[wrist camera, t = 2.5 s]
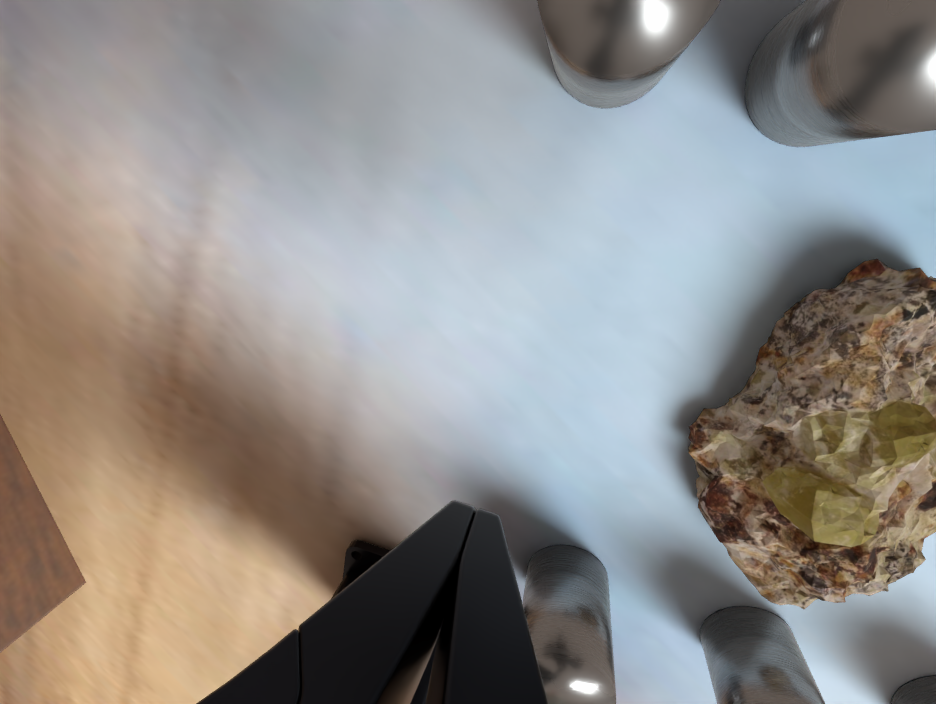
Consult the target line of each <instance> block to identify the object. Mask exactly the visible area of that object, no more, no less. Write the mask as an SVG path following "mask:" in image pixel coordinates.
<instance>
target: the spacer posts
mask: <svg viewBox="0 0 936 704" xmlns="http://www.w3.org/2000/svg"><path fill="white" fill-rule="evenodd" d="M537 1H538V7H539V11H540V15H541V19H542V23H543V27H544V31H545V35H546V38H547V42H548V46H549V50H550V54H551V58H552V62H553V66H554V69H555V72H556V75H557V77H558V79H559V81H560V83H561V84H562V86H563V87H564V88H565V90H566V91H567V92H568V93H569V94H570V95H571V96H572V97H573V98H575V99H576V100H578V101H579V102H581V103H583V104H586V105H588V106H592V107H596V108H615V107H620V106H623V105H627V104H629V103H631V102H633V101H635V100H637V99H639V98H640V97H642V96H644V95H645V94H646V93H647V92H649V91H650V90H651V89H652V88H653V87H654V86H655V85H656V84H657V83H658V82H659V81H660V80H661V78H662V77H663V76H664V75H665V74H666V72H667V71H668V70H669V69H670V67H671V66H672V65H673V64H674V62H675V61H676V60H677V59H678V58H679V56H680V55H681V54H682V53H683V51H684V50H685V49H686V48H687V47H688V45H689V44H690V43H691V42H692V40H693V39H694V38H695V37H696V36H697V34H698V33H699V32H700V31H701V29H702V28H703V27H704V26H705V24H706V23H707V22H708V20H709V19H710V17H711V16H712V15H713V13H714V12H715V10H716V9H717V7H718V5H719V3H720V1H721V0H537ZM745 99H746V105H747V110H748V112H749V115H750V118H751V119H752V121H753V123H754V125H755V126H756V127H757V128H758V130H759V131H760V132H761V133H762V134H764V135H765V136H766V137H768V138H769V139H771V140H772V141H775V142H777V143H779V144H783V145H786V146H793V147H809V146H817V145H824V144H832V143H839V142H847V141H855V140H862V139H870V138H878V137H885V136H893V135H900V134H908V133H916V132H923V131H931V130H936V0H806V1H805V2H804V3H802V4H801V5H800V6H799V7H797V8H796V9H795V10H793V11H792V12H791V13H790V14H788V15H787V16H786V17H784V18H783V19H782V20H781V21H780V22H779V23H778V24H777V25H776V26H775V27H774V28H773V29H772V30H771V31H770V32H769V33H768V34H767V36H766V37H765V39H764V40H763V41H762V43H761V44H760V46H759V48H758V49H757V51H756V53H755V55H754V57H753V59H752V61H751V64H750V67H749V70H748V74H747V79H746V86H745ZM523 608H524V612H525V616H526V619H527V623H528V627H529V631H530V635H531V639H532V643H533V646H534V650H535V654H536V658H537V662H538V666H539V670H540V673H541V677H542V681H543V685H544V689H545V693H546V697H547V700H548V704H616V691H615V675H614V660H613V645H612V630H611V615H610V599H609V584H608V575H607V572H606V570H605V568H604V566H603V565H602V563H601V562H600V561H599V560H598V559H597V558H596V557H595V556H593V555H592V554H590V553H589V552H587V551H585V550H583V549H580V548H577V547H573V546H568V545H555V546H550V547H546V548H544V549H542V550H540V551H538V552H537V553H535V554H534V556H533V557H532V558H531V559H530V561H529V564H528V569H527V576H526V583H525V590H524V598H523ZM700 638H701V642H702V646H703V650H704V654H705V658H706V662H707V666H708V669H709V673H710V677H711V681H712V685H713V689H714V693H715V697H716V701H717V704H825V702H824V700H823V698H822V696H821V693H820V691H819V689H818V687H817V685H816V683H815V680H814V678H813V676H812V674H811V672H810V670H809V667H808V665H807V663H806V661H805V659H804V657H803V654H802V652H801V650H800V648H799V646H798V644H797V641H796V639H795V637H794V635H793V633H792V631H791V629H790V627H789V626H788V625H787V623H786V622H785V621H783V620H782V619H781V618H780V617H778V616H776V615H775V614H773V613H771V612H768V611H766V610H762V609H759V608H753V607H732V608H727V609H723V610H720V611H718V612H716V613H714V614H712V615H711V616H709V617H708V618H707V619H706V620H705V622H704V623H703V625H702V627H701V630H700ZM891 704H936V676H929V677H923V678H920V679H916V680H913V681H911V682H909V683H907V684H905V685H904V686H902V687H901V688H900V689H898V690H897V692H896V693H895V694H894V696H893V698H892V703H891Z"/></svg>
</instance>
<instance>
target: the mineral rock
mask: <svg viewBox="0 0 936 704" xmlns="http://www.w3.org/2000/svg"><path fill="white" fill-rule="evenodd" d="M689 429H690V435H689V439H690V441H691V444H690V446H689V448H688V449H689V451H688V453H689V454H690V455H691V456H692V457H693V459H694V460H695V464H696V470H697V472H698V474H699V477H698V479H697V480H696V488H697V489H698V491H697V497H698V500H699V503H698V508H699V509H700V511H701V513H702V515H703V516H704V518H705V520H706V521H707V523H708V524H709V526H710V527H711V529H712V531H713V532H714V534H715V535H716V537H717V538H718V540H719V541H720V542H722V543H723V545H724V546H725V547H726V548H727V551H728V554H729V556H730V557H731V559H732V560H733V561H734V563H735V564H736V565H737V566H738V567H739V568H740V570H741V571H742V572H743V573H744V574H745V576H746V577H747V578H748V580H749V581H750V582H751V583H752V584H753V585H754V586H755V587H756V589H757V590H758V591H759V593H760V594H761V595H762V596H763V597H765V598H766V599H767V600H769V601H770V602H772V603H775V604H779V605H785V604H791V605H796V606H799V607H801V608H803V609H805V608H806V607H807V606H809V605H810V604H811V603H812V602H813V601H814V600H816V599H820V600H822V601H830V602H835V603H838V602H845V597H847V596H848V595H850V594H853V593H854V594H865V595H868V596H870V595H873V594H875V593H878V592H880V591H888V584H890V583H892V582H895V581H896V580H898V579H900V578H902V577H904V576H906V575H907V574H910V573H913V572H914V571H915V569H916V567H918V566H919V565H921V564H922V563H923V562H924V561H925V560H926V559H925V557H924V556H923V554H922V552H921V551H922V547H923V542H924V538H926V537H928V536H929V535H931V534H933V533H934V532H936V278H933V277H931V276H930V277H927V275H926V274H925V273H924V272H923V271H922V270H921V268H915V269H908V270H901V271H897V270H894V269H890V268H889V267H888V266H887V265H885V264H884V263H883V262H881V261H880V260H878V259H874V260H869V261H864V262H863V263H861V264H860V265H859V266H857V267H856V268H855V269H853V270H852V271H850V272H849V273H848V274H847V275H846V277H845V278H844V280H843V281H842V282H841V284H840V285H838V286H837V287H836V288H833V289H817V290H815V291H813V292H812V293H810V294H808V295H806V296H805V297H804V298H803V299H802V300H801V301H800V302H798V303H796V304H795V305H794V306H793V307H792V308H790V309H789V310H788V311H787V312H785V313H784V317H783V318H781V319H780V320H778V321H777V322H776V325H775V327H774V329H773V331H772V334H771V337H769V338H768V342H767V343H766V344H765V345H763V346H762V347H761V348H760V350H759V353H758V357H757V360H756V369H755V371H754V372H753V374H752V375H751V377H750V378H749V380H748V382H747V384H746V386H745V387H744V389H743V390H742V391H741V392H740V393H739V394H737V395H735V396H734V397H733V398H729V402H728V403H726V405H724V406H722V407H719V408H714V409H703V411H702V412H701V414H700V416H699V417H698V419H697V420H696V422H694V423H693V424H692V425H691V426H689Z"/></svg>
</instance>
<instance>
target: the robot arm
mask: <svg viewBox="0 0 936 704" xmlns="http://www.w3.org/2000/svg"><path fill="white" fill-rule="evenodd" d="M197 704H548V700H547V697H546V693H545V689H544V685H543V681H542V677H541V673H540V670H539V666H538V662H537V658H536V654H535V650H534V646H533V643H532V639H531V635H530V631H529V627H528V623H527V619H526V616H525V612H524V608H523V604H522V600H521V596H520V592H519V588H518V585H517V581H516V577H515V573H514V569H513V565H512V561H511V558H510V554H509V550H508V546H507V542H506V538H505V534H504V531H503V527H502V523H501V519H500V517H499V515H497V514H495V513H492V512H489V511H486V510H483V509H477V510H476V511H475V508H474V507H473V506H471V505H468V504H465V503H462V502H459V501H456V500H454V501H451V502H450V503H449V504H447V505H446V506H445V507H444V508H442V509H441V510H440V511H439V512H438V513H436V514H435V515H434V516H433V517H431V518H430V519H429V520H428V521H427V522H425V523H424V524H423V525H422V526H420V527H419V528H418V529H417V530H416V531H414V532H413V533H412V534H411V535H409V536H408V537H407V538H406V539H405V540H403V541H402V542H401V543H400V544H398V545H397V546H396V547H395V548H394V549H392V550H391V551H389V550H386V549H384V548H381V547H378V546H375V545H372V544H370V543H367V542H364V541H361V540H354V541H353V542H351V544H350V546H349V547H348V549H347V551H346V557H345V565H344V573H343V580H342V582H341V583H340V585H339V587H338V589H337V590H336V592H335V594H334V595H333V597H332V599H331V600H330V601H329V602H327V603H326V604H325V605H324V606H323V607H321V608H320V609H319V610H318V611H316V612H315V613H314V614H313V615H312V616H310V617H309V618H308V619H307V620H305V621H304V622H303V623H302V624H301V625H300V626H299V629H298V630H296V629H295V630H293V631H292V632H290V633H289V634H288V635H287V636H285V637H284V638H283V639H282V640H281V641H279V642H278V643H277V644H276V645H275V646H273V647H272V648H271V649H270V650H268V651H267V652H266V653H264V654H263V655H262V656H261V657H259V658H258V659H257V660H255V661H254V662H253V663H252V664H250V665H249V666H248V667H246V668H245V669H244V670H242V671H241V672H240V673H239V674H237V675H236V676H235V677H233V678H232V679H231V680H229V681H228V682H227V683H225V684H224V685H222V686H221V687H219V688H218V689H217V690H215V691H214V692H212V693H211V694H209V695H208V696H207V697H205V698H204V699H202V700H201V701H199V702H198V703H197Z"/></svg>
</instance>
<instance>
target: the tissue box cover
mask: <svg viewBox="0 0 936 704" xmlns="http://www.w3.org/2000/svg"><path fill="white" fill-rule="evenodd" d="M85 583H86V582H85V580H84V578H83V576H82V574H81V572H80V570H79V568H78V566H77V564H76V562H75V560H74V558H73V556H72V554H71V552H70V550H69V548H68V546H67V544H66V542H65V540H64V538H63V536H62V534H61V533H60V531H59V529H58V527H57V525H56V523H55V521H54V519H53V517H52V515H51V513H50V511H49V509H48V507H47V505H46V503H45V501H44V499H43V497H42V495H41V493H40V491H39V489H38V487H37V485H36V483H35V481H34V480H33V478H32V476H31V474H30V472H29V470H28V468H27V466H26V464H25V462H24V460H23V458H22V456H21V454H20V452H19V450H18V448H17V446H16V444H15V442H14V440H13V438H12V436H11V434H10V432H9V430H8V428H7V427H6V425H5V423H4V421H3V419H2V417H1V415H0V652H2V651H3V650H4V649H5V648H7V647H8V646H9V645H10V644H11V643H13V642H14V641H15V640H16V639H18V638H19V637H20V636H21V635H22V634H24V633H25V632H26V631H27V630H29V629H30V628H31V627H32V626H33V625H35V624H36V623H37V622H38V621H40V620H41V619H42V618H43V617H44V616H46V615H47V614H48V613H49V612H51V611H52V610H53V609H54V608H55V607H57V606H58V605H59V604H60V603H62V602H63V601H64V600H65V599H66V598H68V597H69V596H70V595H71V594H73V593H74V592H75V591H76V590H77V589H79V588H80V587H81V586H82V585H84V584H85Z"/></svg>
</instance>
